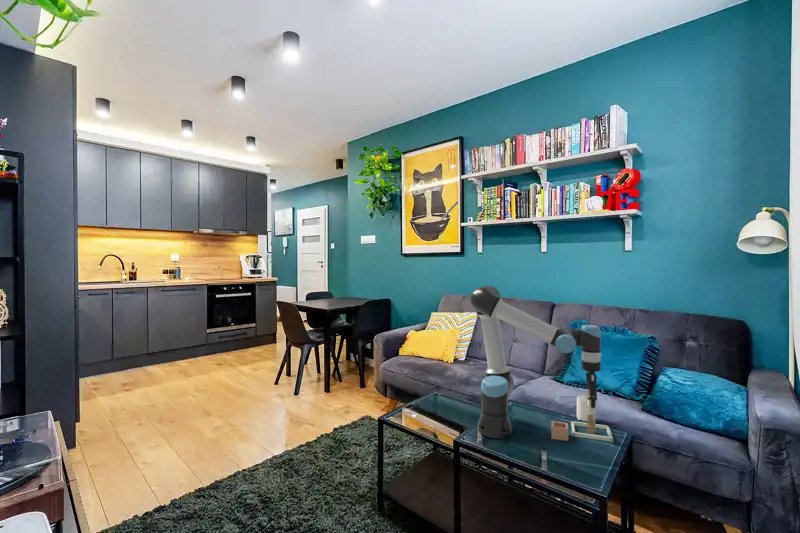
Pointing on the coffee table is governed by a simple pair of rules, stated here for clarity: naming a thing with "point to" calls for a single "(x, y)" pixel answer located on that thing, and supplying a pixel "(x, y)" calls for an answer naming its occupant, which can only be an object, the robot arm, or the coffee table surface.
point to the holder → (559, 430)
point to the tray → (591, 436)
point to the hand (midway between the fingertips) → (591, 409)
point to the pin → (590, 420)
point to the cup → (582, 408)
